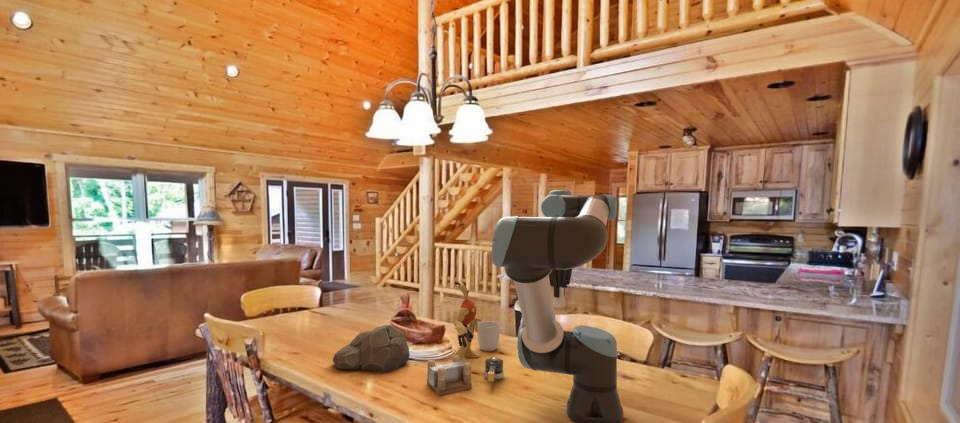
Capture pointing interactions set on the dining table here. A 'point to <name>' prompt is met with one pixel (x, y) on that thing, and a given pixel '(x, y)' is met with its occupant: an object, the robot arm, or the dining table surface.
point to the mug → (488, 335)
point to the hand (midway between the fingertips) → (559, 306)
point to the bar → (447, 373)
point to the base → (496, 376)
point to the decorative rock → (374, 351)
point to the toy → (462, 320)
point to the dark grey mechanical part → (493, 367)
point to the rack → (452, 387)
